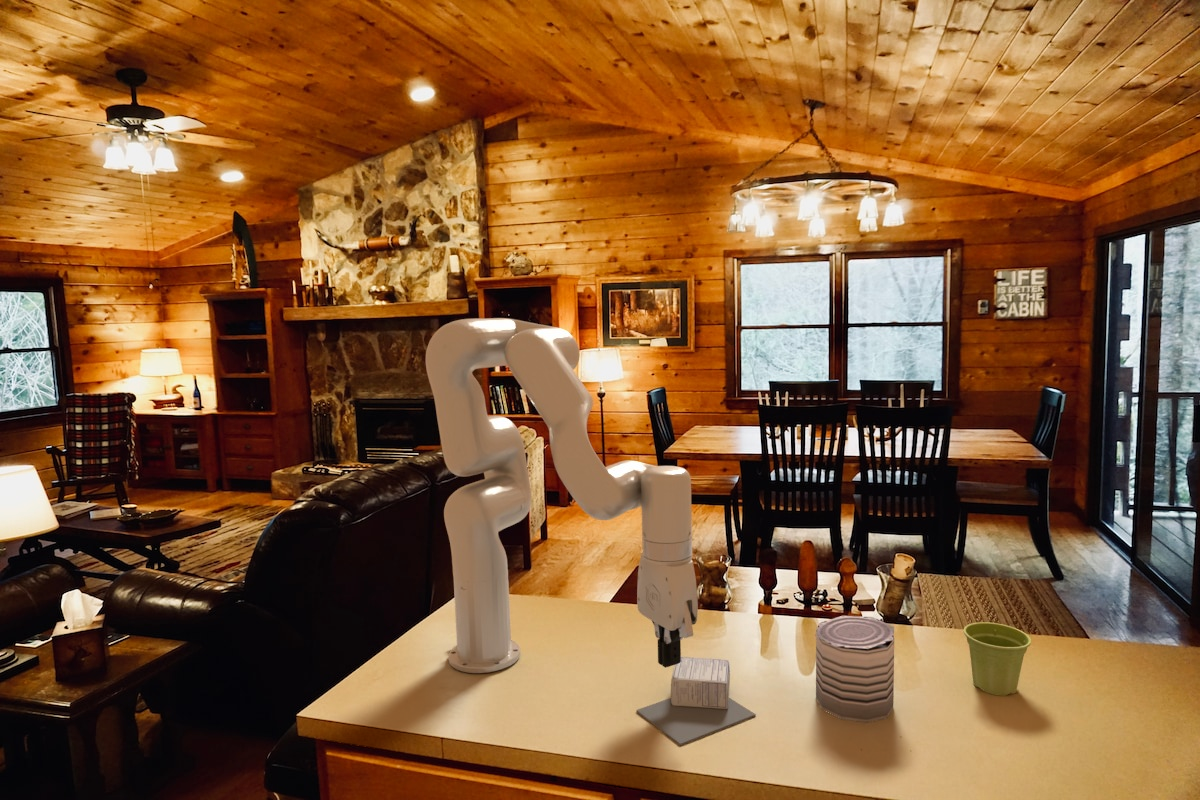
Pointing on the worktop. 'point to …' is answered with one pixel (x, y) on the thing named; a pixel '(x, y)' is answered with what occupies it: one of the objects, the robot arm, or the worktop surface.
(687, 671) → the medicine box
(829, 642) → the can
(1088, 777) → the worktop surface
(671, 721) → the mat
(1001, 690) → the plant pot
